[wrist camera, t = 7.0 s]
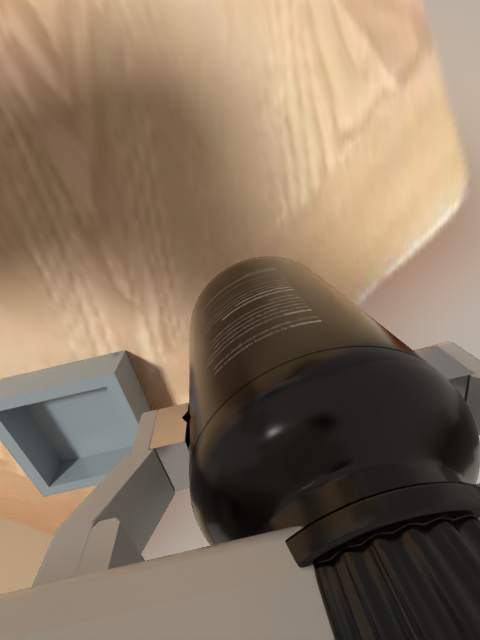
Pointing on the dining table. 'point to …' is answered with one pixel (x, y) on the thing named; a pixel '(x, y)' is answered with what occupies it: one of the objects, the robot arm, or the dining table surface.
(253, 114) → the dining table surface
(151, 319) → the dining table surface
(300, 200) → the dining table surface
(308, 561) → the supplement bottle
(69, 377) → the tray
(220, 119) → the dining table surface
